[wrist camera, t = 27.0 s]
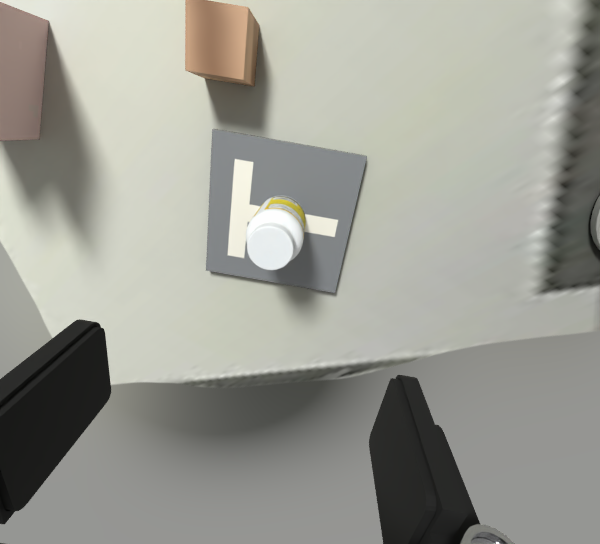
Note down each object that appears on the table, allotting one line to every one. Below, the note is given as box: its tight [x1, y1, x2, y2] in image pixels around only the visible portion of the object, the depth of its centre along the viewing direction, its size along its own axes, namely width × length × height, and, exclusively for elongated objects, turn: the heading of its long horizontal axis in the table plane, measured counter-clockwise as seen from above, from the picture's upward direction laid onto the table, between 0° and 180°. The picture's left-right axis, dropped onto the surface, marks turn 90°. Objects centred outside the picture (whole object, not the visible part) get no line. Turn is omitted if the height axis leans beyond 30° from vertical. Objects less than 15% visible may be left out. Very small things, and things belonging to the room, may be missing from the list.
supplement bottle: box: [246, 196, 306, 270], centre depth 32 cm, size 5×5×10 cm
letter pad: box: [206, 129, 367, 293], centre depth 37 cm, size 16×16×1 cm
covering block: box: [185, 0, 259, 86], centre depth 29 cm, size 5×5×5 cm
